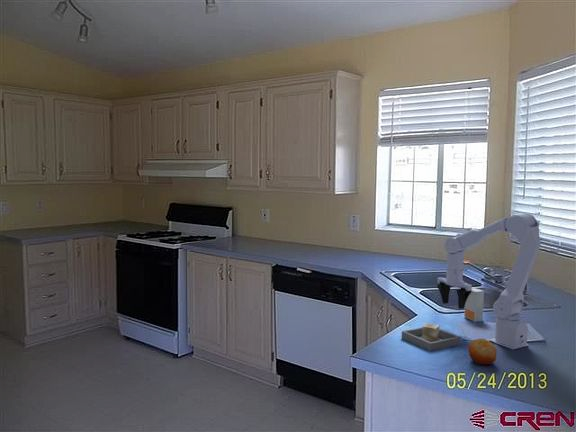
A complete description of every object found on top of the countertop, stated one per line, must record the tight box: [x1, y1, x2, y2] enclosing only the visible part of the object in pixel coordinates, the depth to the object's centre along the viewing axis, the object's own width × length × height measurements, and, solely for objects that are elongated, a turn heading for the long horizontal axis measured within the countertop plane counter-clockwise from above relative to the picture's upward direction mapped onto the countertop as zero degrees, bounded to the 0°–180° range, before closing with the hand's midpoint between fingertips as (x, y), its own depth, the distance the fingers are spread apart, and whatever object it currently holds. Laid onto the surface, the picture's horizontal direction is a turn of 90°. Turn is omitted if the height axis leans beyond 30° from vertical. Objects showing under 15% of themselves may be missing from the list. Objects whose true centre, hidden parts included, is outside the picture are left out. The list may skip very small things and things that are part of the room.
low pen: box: [401, 326, 462, 352], centre depth 165 cm, size 14×14×2 cm
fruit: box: [467, 338, 498, 366], centre depth 147 cm, size 8×8×8 cm
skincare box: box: [463, 287, 485, 323], centre depth 190 cm, size 6×4×12 cm
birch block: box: [421, 322, 440, 342], centre depth 164 cm, size 4×4×5 cm
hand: (453, 305), depth 179 cm, fingers open, 7 cm apart
